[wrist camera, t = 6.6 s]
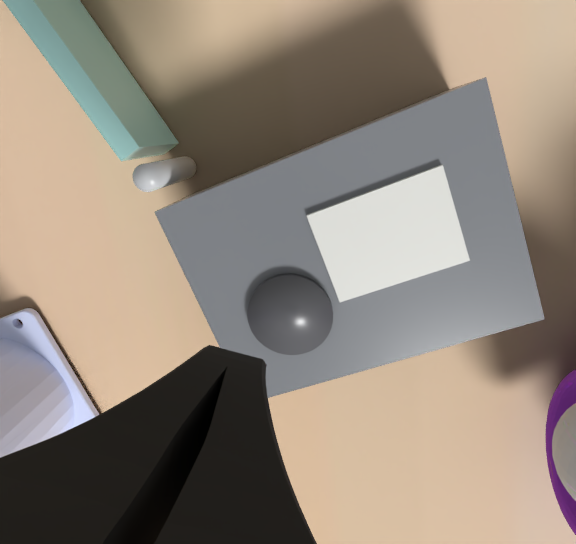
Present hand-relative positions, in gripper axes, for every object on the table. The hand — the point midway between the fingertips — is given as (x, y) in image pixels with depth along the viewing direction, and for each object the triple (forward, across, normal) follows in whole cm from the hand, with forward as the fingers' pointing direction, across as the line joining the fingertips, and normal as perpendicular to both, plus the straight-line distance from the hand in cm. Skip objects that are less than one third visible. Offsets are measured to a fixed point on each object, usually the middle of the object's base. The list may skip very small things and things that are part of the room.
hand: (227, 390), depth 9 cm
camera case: (+10, -2, -2) cm, 10 cm away
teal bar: (+10, +8, -6) cm, 14 cm away
